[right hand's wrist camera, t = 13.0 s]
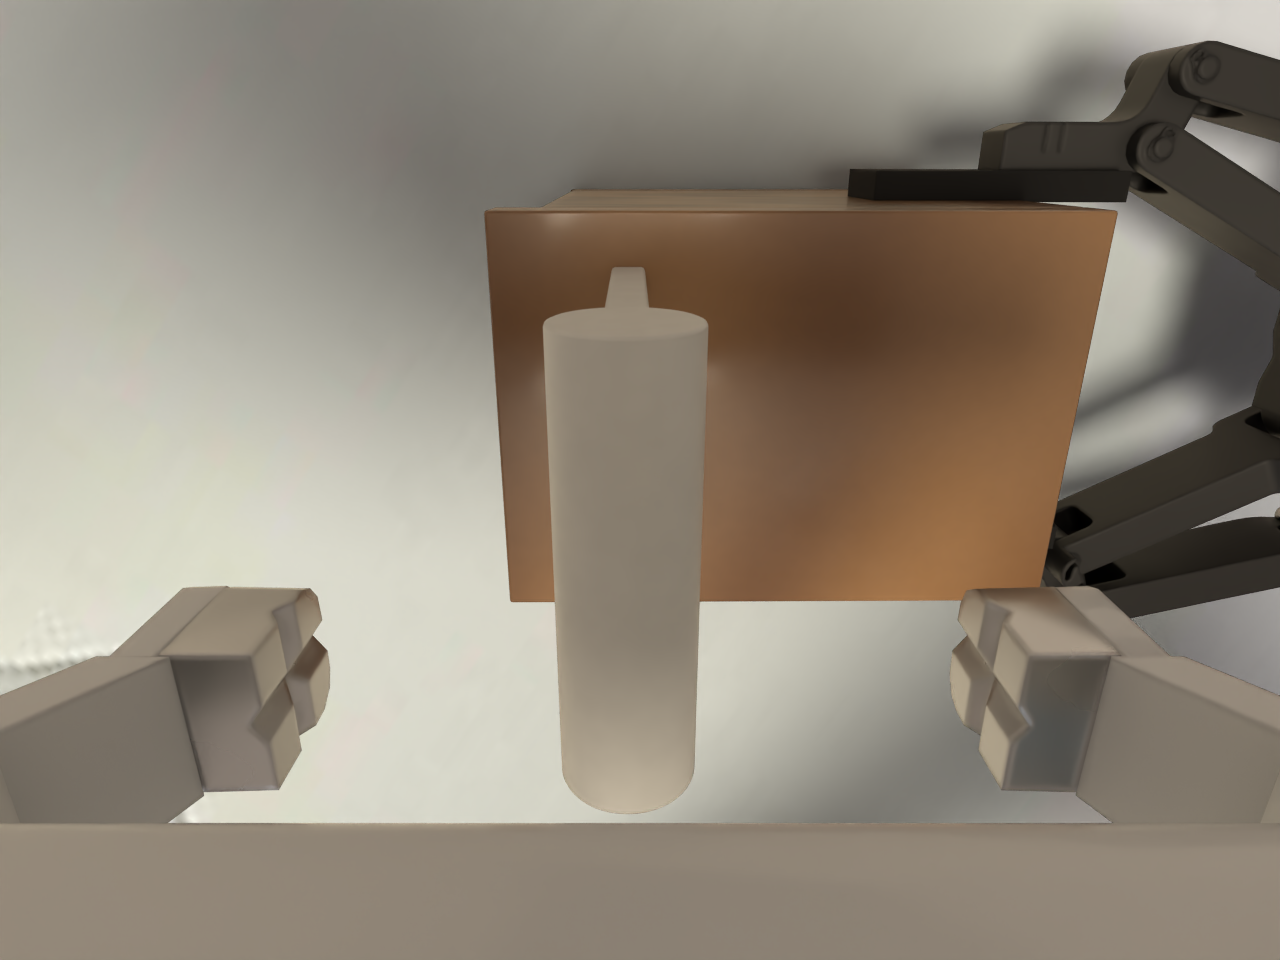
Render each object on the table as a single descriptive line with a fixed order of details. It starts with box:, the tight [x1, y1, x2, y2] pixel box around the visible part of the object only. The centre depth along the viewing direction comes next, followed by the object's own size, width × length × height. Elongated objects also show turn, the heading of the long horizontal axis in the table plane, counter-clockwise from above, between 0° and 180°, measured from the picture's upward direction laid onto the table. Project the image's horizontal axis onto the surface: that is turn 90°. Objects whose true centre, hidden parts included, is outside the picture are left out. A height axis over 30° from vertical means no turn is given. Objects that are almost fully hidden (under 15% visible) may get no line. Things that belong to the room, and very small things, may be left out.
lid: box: [484, 207, 1118, 814], centre depth 15 cm, size 13×9×9 cm
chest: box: [541, 189, 1083, 208], centre depth 25 cm, size 12×9×11 cm
